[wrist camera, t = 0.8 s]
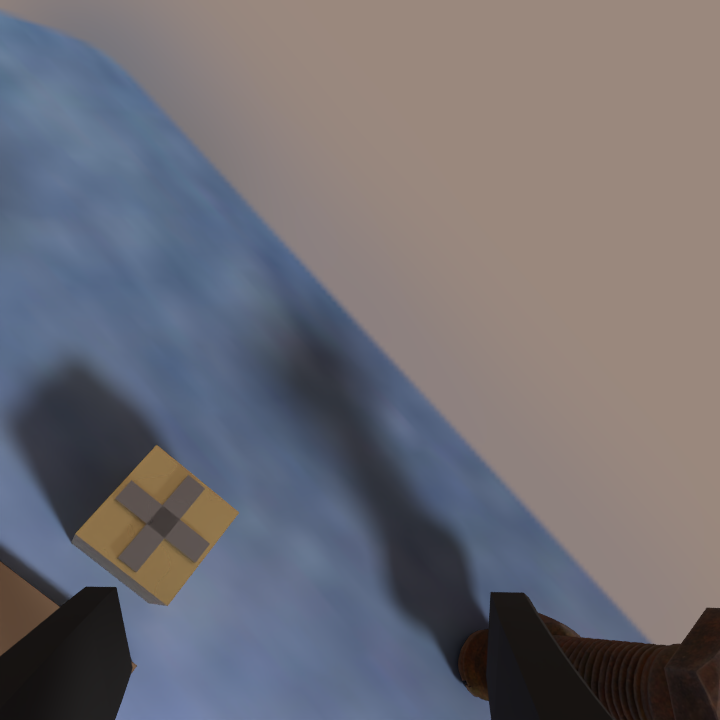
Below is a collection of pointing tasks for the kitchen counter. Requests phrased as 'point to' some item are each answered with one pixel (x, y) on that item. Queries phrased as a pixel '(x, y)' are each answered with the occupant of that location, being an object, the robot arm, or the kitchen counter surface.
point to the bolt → (630, 671)
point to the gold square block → (155, 528)
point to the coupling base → (21, 608)
